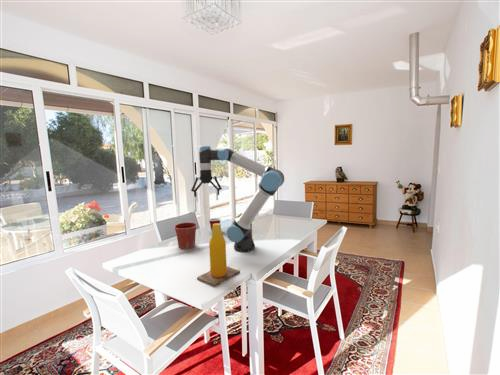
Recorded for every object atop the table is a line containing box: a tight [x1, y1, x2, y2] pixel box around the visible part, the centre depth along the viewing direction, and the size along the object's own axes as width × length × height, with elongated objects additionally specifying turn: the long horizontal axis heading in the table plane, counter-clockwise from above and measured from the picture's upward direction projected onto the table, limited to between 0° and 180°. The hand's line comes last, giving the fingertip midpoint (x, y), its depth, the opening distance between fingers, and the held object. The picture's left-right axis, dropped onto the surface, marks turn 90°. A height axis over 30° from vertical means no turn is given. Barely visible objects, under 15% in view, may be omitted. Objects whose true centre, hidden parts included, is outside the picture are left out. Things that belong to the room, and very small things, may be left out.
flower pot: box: [173, 221, 198, 250], centre depth 197 cm, size 16×16×16 cm
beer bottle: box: [208, 222, 227, 278], centre depth 147 cm, size 9×9×29 cm
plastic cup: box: [208, 217, 222, 231], centre depth 229 cm, size 11×11×12 cm
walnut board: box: [196, 266, 241, 288], centre depth 149 cm, size 20×14×1 cm
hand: (207, 200), depth 179 cm, fingers open, 13 cm apart
